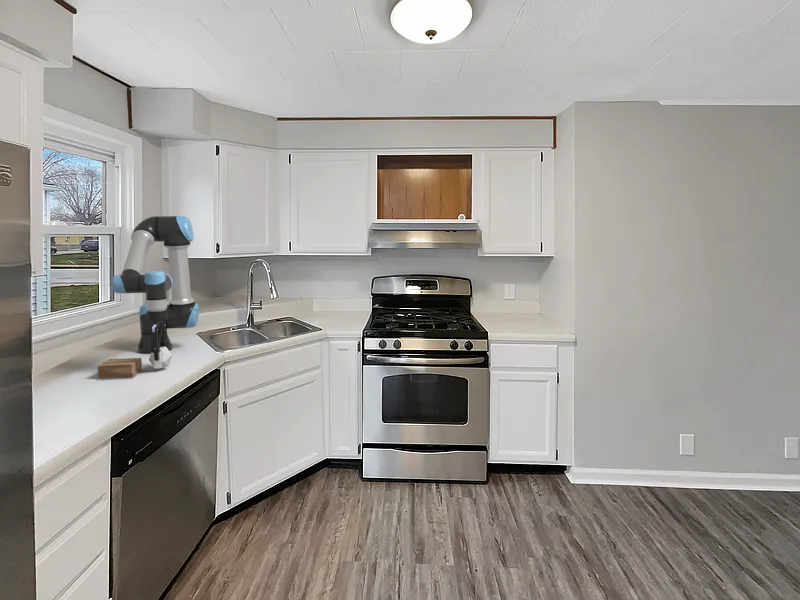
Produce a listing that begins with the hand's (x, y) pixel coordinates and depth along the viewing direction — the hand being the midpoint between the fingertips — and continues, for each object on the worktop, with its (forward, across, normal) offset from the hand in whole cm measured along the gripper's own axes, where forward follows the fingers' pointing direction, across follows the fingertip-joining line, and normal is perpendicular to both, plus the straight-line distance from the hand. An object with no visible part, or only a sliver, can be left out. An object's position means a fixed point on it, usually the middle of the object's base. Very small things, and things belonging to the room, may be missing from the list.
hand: (160, 365), depth 222 cm
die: (+1, 0, 0) cm, 1 cm away
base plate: (+3, +6, -14) cm, 15 cm away
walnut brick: (+2, +6, -14) cm, 15 cm away
